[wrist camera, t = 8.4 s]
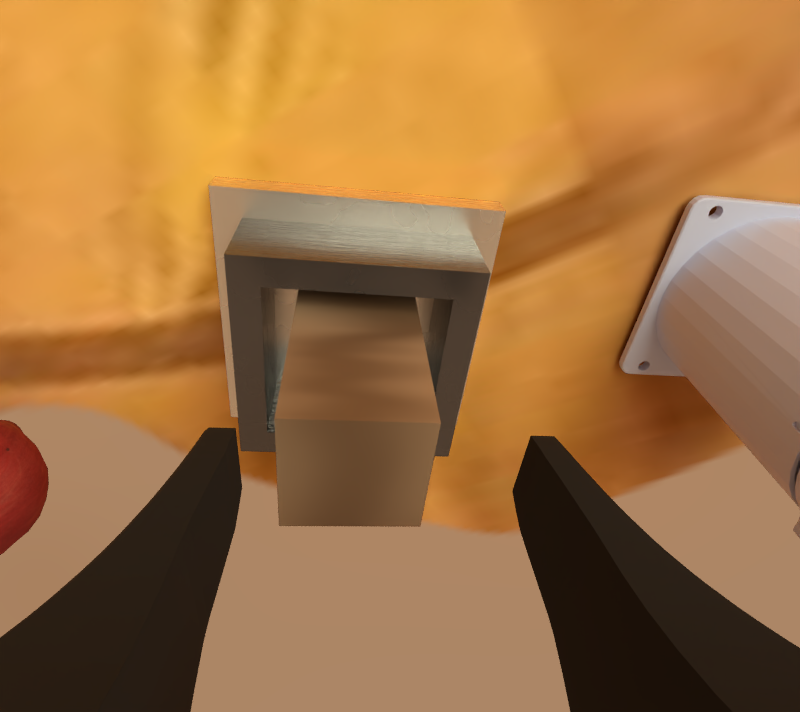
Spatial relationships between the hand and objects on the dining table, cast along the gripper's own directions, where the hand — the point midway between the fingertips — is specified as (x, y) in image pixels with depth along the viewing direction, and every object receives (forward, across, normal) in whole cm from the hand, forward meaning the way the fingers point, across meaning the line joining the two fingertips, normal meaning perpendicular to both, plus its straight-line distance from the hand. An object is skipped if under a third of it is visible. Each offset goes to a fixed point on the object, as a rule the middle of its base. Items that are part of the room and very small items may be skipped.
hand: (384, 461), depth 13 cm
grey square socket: (+9, +1, +1) cm, 10 cm away
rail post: (+8, +1, +1) cm, 8 cm away
